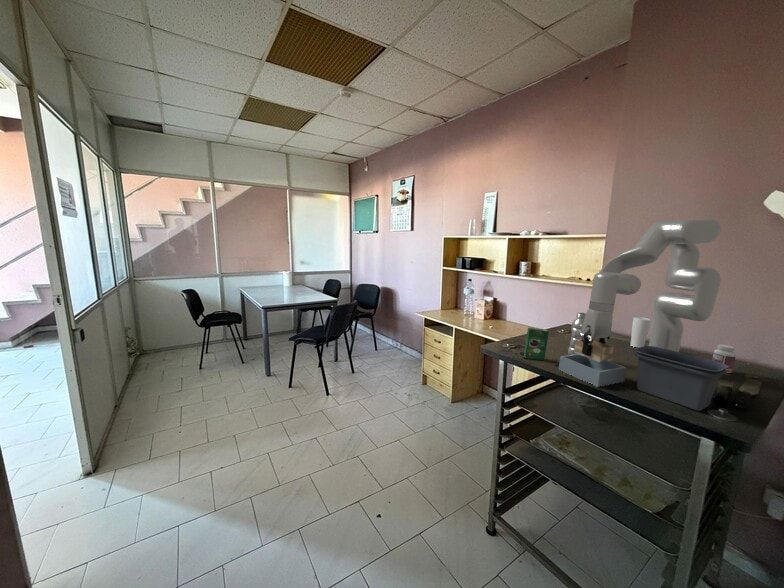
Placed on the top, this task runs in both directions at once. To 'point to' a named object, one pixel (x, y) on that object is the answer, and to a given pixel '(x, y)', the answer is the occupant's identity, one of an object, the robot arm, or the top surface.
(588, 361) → the grey crate
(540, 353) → the coffee box
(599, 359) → the wooden crate
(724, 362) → the pill bottle
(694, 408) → the storage bin
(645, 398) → the top surface
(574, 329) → the plastic bottle
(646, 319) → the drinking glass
